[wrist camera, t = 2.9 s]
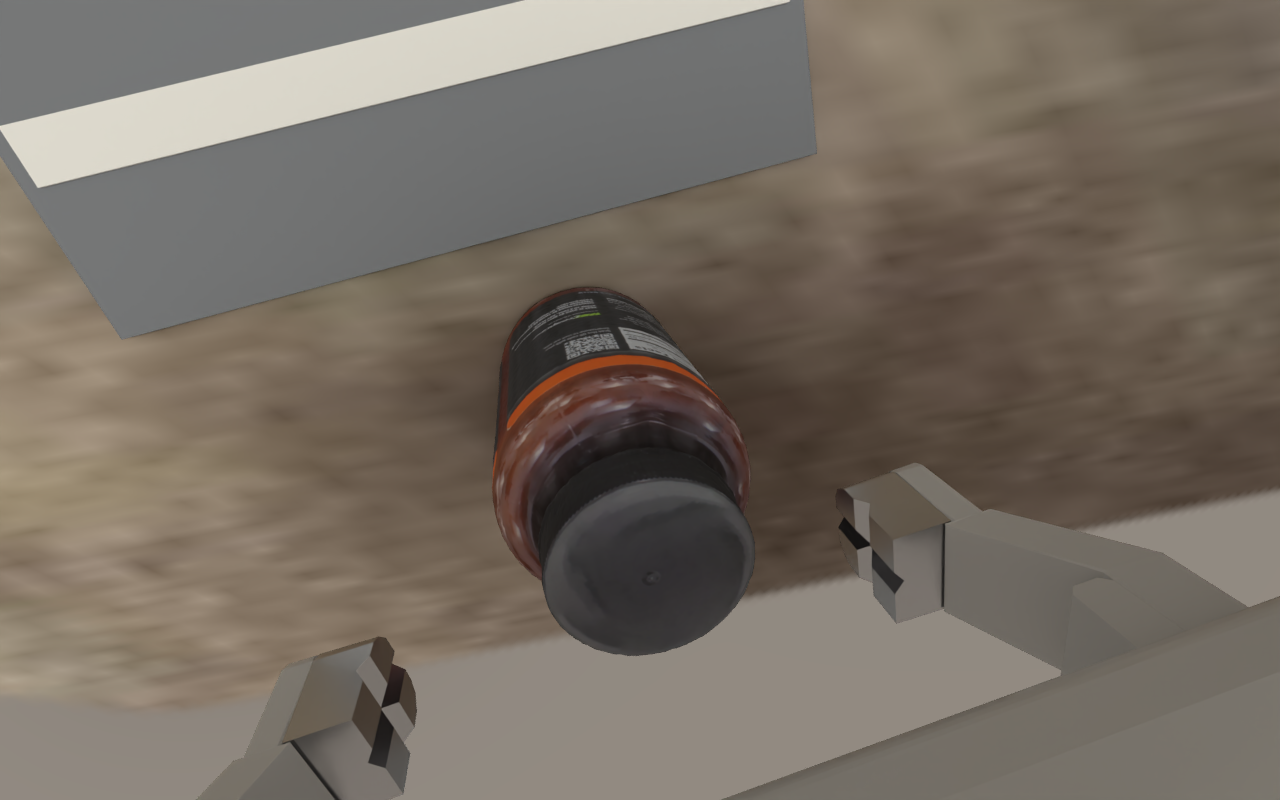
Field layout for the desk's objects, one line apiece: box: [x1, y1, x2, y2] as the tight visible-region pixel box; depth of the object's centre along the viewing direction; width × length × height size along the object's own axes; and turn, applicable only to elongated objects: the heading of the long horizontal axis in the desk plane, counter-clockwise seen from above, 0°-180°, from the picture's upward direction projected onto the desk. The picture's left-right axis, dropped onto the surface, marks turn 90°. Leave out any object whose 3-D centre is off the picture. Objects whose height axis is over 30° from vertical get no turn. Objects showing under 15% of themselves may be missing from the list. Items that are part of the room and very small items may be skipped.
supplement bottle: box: [492, 288, 755, 656], centre depth 16 cm, size 6×6×11 cm
